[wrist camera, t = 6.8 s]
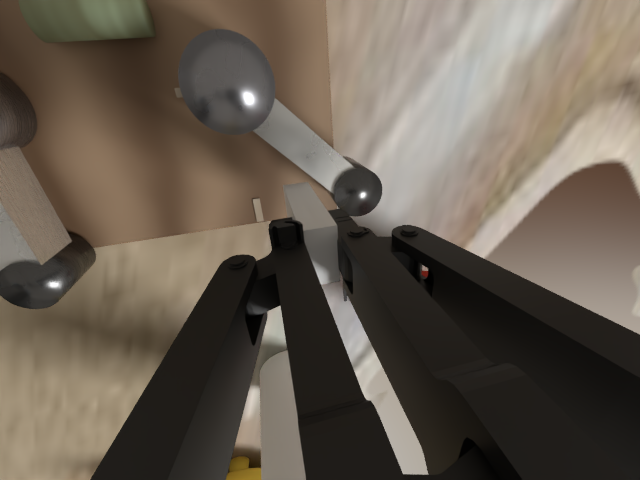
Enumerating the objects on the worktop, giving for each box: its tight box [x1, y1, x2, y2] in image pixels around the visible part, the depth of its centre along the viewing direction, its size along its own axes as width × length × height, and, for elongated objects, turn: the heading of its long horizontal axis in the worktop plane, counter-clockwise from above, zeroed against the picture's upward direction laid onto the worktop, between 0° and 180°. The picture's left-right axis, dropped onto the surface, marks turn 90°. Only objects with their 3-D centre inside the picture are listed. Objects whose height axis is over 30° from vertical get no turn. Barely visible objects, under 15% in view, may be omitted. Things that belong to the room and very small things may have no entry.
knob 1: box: [0, 72, 96, 309], centre depth 15 cm, size 13×4×4 cm, turn 4°
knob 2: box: [178, 29, 382, 216], centre depth 17 cm, size 13×4×4 cm, turn 50°
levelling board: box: [0, 0, 337, 248], centre depth 17 cm, size 24×14×4 cm, turn 94°
